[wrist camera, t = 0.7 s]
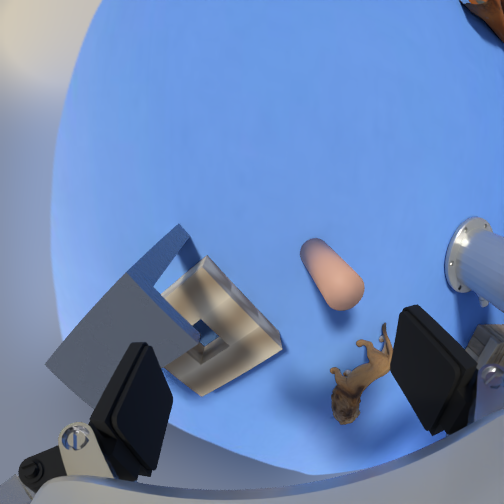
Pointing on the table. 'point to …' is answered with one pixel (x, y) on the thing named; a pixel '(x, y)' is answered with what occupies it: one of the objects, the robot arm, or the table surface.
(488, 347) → the block tower
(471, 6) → the camel toy
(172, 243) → the grey piece
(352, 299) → the peg
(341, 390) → the lion figurine
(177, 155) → the table surface
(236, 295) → the socket block
